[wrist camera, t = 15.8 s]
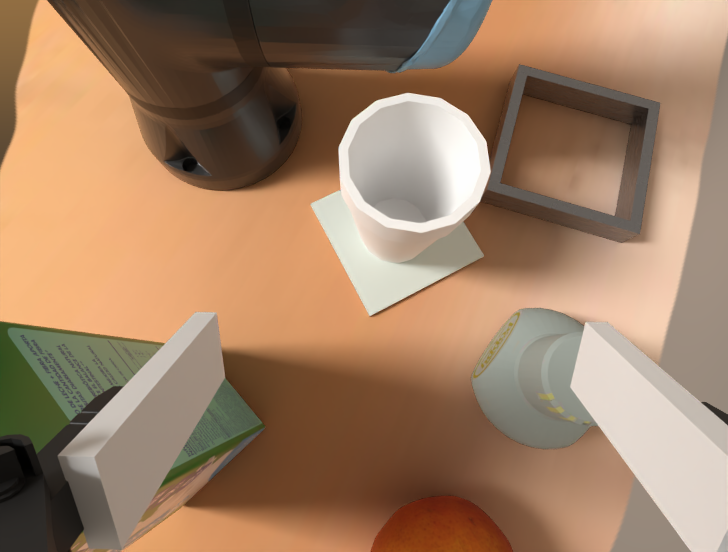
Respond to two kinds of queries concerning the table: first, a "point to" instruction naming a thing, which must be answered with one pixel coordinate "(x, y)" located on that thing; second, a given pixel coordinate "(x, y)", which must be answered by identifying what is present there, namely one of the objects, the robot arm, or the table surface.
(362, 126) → the foam cup
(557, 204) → the grey square frame
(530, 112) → the table surface
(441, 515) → the fruit
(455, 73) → the table surface
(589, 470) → the table surface
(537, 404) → the air freshener
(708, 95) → the table surface
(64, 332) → the milk carton
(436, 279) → the pad
